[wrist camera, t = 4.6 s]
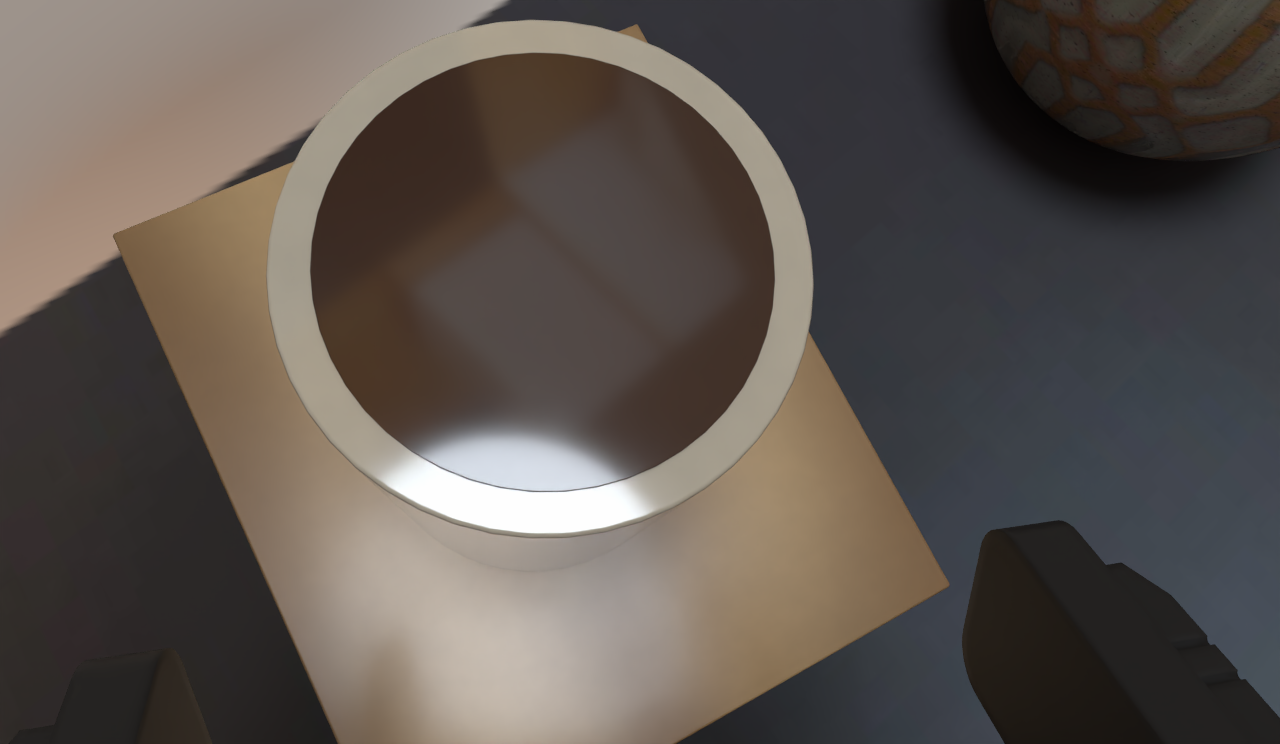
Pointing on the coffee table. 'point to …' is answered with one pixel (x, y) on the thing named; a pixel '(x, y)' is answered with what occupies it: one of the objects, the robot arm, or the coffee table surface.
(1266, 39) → the vase
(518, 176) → the cup
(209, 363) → the light brown wooden block
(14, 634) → the coffee table surface
